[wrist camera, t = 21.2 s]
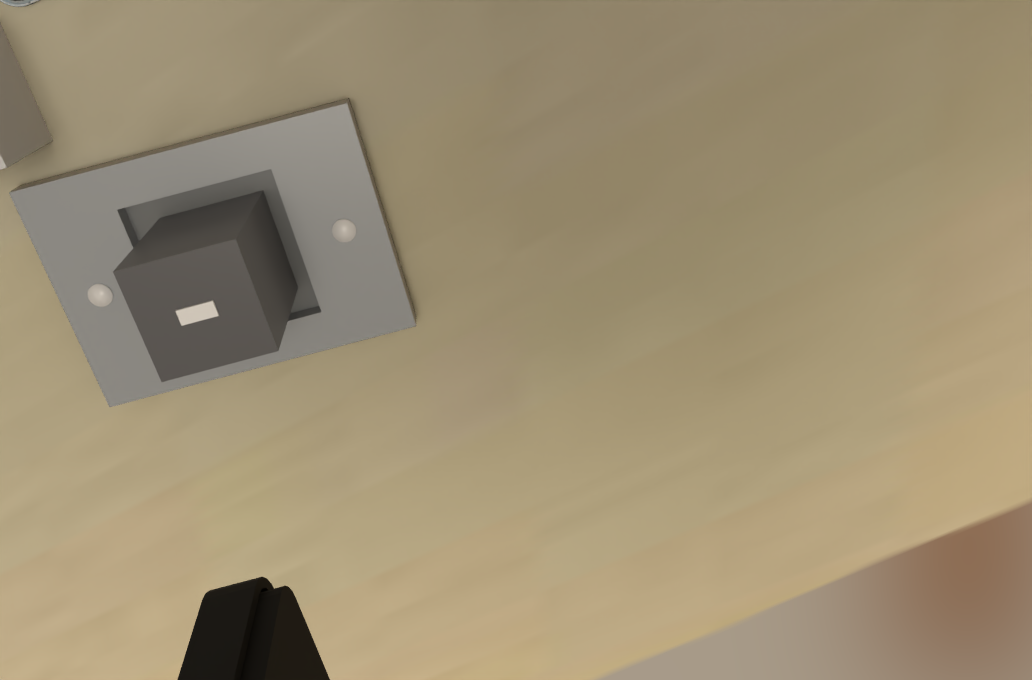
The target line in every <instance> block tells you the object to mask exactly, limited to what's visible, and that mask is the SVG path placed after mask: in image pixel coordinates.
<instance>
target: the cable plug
mask: <svg viewBox="0 0 1032 680" xmlns="http://www.w3.org/2000/svg"><path fill="white" fill-rule="evenodd" d="M51 141H53V139H52V137H51V134H50V132H49V130H48V128H47V125H46V123H45V121H44V119H43V117H42V114H41V112H40V110H39V108H38V105H37V103H36V101H35V99H34V97H33V94H32V92H31V90H30V88H29V85H28V83H27V81H26V79H25V77H24V74H23V72H22V70H21V68H20V65H19V63H18V61H17V59H16V57H15V54H14V52H13V50H12V48H11V45H10V43H9V41H8V39H7V37H6V34H5V32H4V30H3V28H2V25H1V23H0V169H4V168H7V167H9V166H11V165H12V164H14V163H16V162H17V161H19V160H21V159H22V158H24V157H26V156H27V155H29V154H31V153H33V152H34V151H36V150H38V149H39V148H41V147H43V146H44V145H46V144H48V143H49V142H51Z"/></svg>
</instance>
